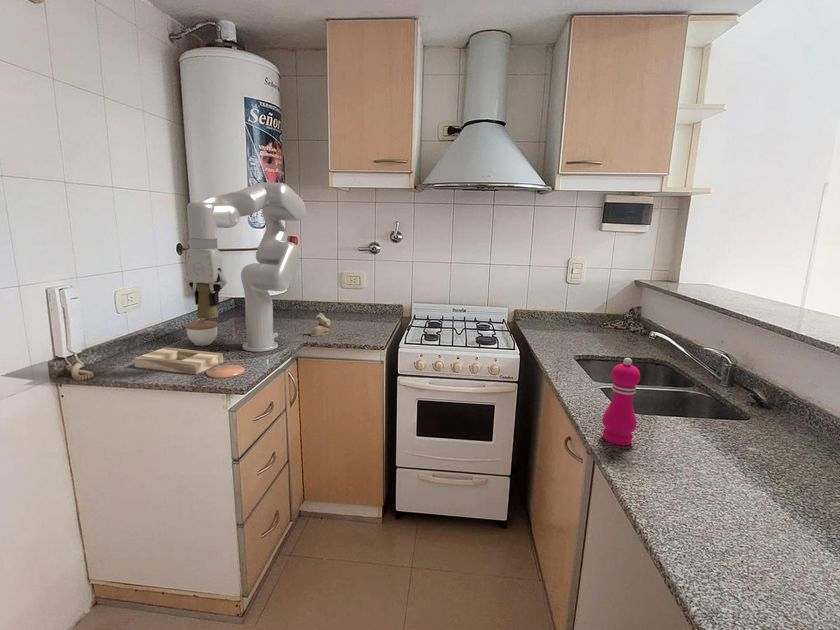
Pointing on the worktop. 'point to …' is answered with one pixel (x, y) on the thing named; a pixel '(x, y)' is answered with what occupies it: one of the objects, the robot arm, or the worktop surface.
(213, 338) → the white bowl
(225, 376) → the coaster
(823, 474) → the worktop surface
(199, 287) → the olive waisted cylinder
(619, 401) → the pepper mill
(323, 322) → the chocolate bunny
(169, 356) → the wooden tray
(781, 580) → the worktop surface
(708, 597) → the worktop surface
